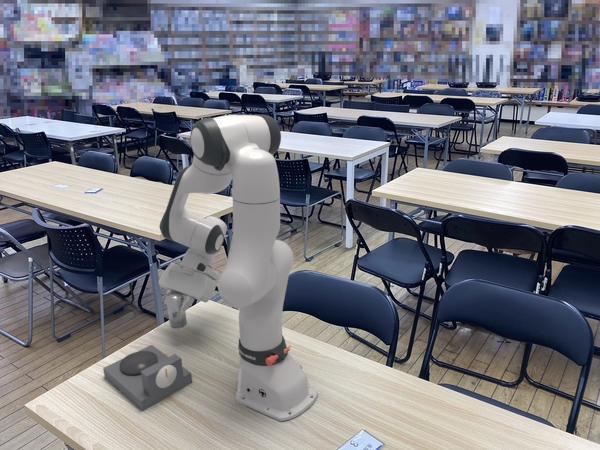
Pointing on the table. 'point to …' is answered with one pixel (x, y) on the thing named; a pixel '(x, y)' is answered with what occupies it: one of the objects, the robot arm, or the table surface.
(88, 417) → the table surface
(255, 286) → the robot arm
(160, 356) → the scale
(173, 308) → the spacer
